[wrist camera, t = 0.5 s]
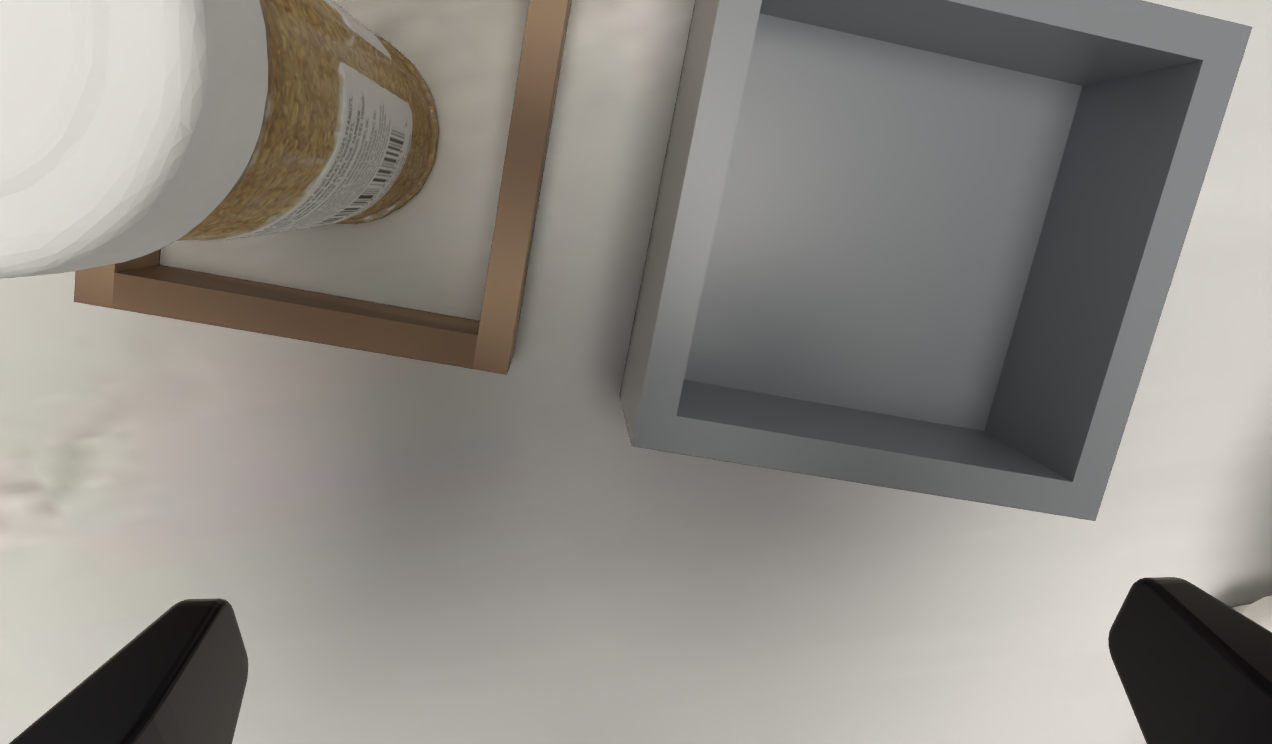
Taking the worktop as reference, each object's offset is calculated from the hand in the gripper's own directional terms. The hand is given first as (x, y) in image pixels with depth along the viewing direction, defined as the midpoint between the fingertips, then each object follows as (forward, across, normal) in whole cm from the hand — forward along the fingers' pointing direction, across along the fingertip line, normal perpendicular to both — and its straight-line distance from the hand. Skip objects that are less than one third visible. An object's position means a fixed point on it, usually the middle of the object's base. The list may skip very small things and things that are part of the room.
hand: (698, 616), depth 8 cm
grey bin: (+14, -6, +2) cm, 15 cm away
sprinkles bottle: (+15, +7, -1) cm, 16 cm away
